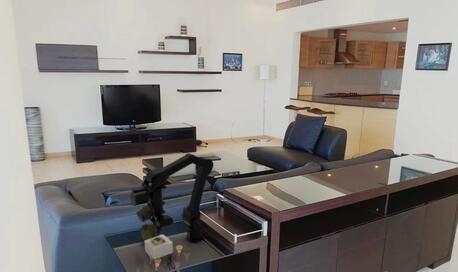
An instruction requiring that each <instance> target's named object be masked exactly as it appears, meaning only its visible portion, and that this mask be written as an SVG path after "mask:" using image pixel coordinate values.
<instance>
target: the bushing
mask: <svg viewBox="0 0 458 272" xmlns="http://www.w3.org/2000/svg"><path fill="white" fill-rule="evenodd" d="M156 237H157V236H156ZM162 243H163V238H162V237H157V238H155V239H154V245H155V246H156V245H159V244H162Z"/></svg>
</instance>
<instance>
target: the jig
mask: <svg viewBox="0 0 458 272" xmlns="http://www.w3.org/2000/svg"><path fill="white" fill-rule="evenodd" d="M157 237H162V238H163V243H162V244H159V245H156V246H155V245H154V239H155V238H157ZM143 241H144V251H145V252H146V254H148V256H149V257H150V258H151V259H152V260H154V259H155V260H157V258H158V259H160V258H163V257H165V256H167V255H170V254H173V253H174V246H173V241H172V240H171V239H170V238H168V237H167V236H166V235H164V234H160V235H156V237H154V238H151V239H148V240H143Z"/></svg>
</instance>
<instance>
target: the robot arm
mask: <svg viewBox="0 0 458 272" xmlns="http://www.w3.org/2000/svg"><path fill="white" fill-rule="evenodd" d="M191 165H194V166H195V168H194V169H195V180H194V184H193V188H192V193H191V196H190V200H189V204H188V206H186V207H183V210H182V214H181V216H182V217H181V218H182V221H183V222H184V223H185V224H186V225H187V230H186V239H187V240H188V241H190V242H192V243H196V242H200V241H201V240H205V236H203V230H204V229H205V225H206V223H205V222H204V221H202V220H201V210H200V209H201V208H200V207H201V202H202V200H203V199H202V198H203V193H204V191H205V186H206V181H207V178H208V177H209V176H210V175H211V173H212V170H213V168H214V162H213V159H211V158H210V159H209V158H208V157H205V156H200V157H199V156H196V155H195V154H192V153H186V154H185V155H183V156H181V157H180V158H178V159H175V160H174V161H172V162H171V163H169V164H167V165H165V166H163V167H156V168H154V169H151V170H149V171H148V172H147V173H146V176H145V178H144V180H143V182H142V183H141V186H140V187H139V188H132V189H131V192H130V195H129V199H130V203H131V205H132V206H133V207H135V206H140V205H143V204H146V205H145V206H143V207H142V208H141V209H139V210H138V211H136V213H135V214H136V216H137V218H138V220H139V221H140V222H142V223H145V222H146V221H148V220H149V221H150V222H151V223H152V224H153V225H154V228H155V230H156V235H157V234H161V233H160V232H161V231H162V228H165V227H167V226H170V225H173V224H174V218H173V217H171V216H170V215H168V214H166V210H164V205H166V201H164V195H163V190H166V189H167V188H168V186H166V185H165V184H164V183H165V182H167V181H168V179H169V178H170V177H171V176H172V175H174V174H176V173H178V172H180V171H181V170H184V168H186V167H188V166H191Z"/></svg>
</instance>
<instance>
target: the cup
mask: <svg viewBox="0 0 458 272" xmlns="http://www.w3.org/2000/svg"><path fill="white" fill-rule="evenodd" d="M139 229H140V233H141V238H142V239H143V241H145V240H148V239H151V238H154V237H157V233H156V230H155V228H154V225H153V222H150V223H149V222H148V223H144V224H141V227H139Z"/></svg>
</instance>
